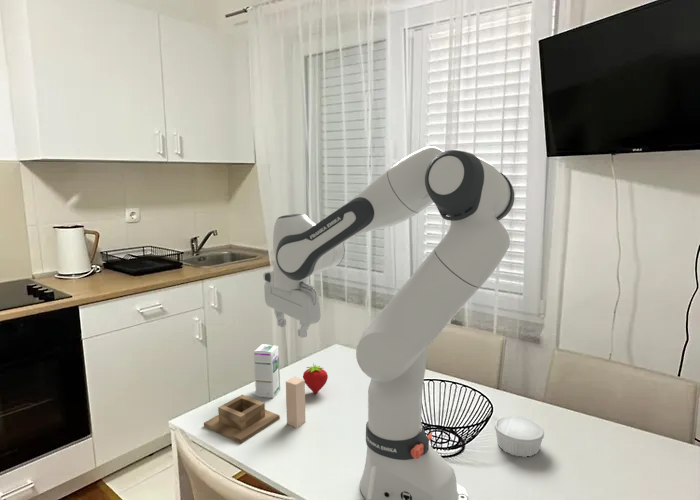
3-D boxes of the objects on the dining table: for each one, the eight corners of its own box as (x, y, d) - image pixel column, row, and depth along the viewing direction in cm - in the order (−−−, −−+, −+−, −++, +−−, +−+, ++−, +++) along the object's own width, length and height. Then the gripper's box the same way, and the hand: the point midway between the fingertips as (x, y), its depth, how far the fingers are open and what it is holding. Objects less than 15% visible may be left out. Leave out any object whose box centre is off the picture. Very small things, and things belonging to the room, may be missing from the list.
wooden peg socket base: (279, 418, 128) (279, 401, 127) (241, 443, 116) (240, 424, 116) (243, 404, 136) (242, 388, 135) (203, 426, 124) (202, 408, 123)
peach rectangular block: (305, 421, 126) (304, 379, 124) (296, 427, 124) (295, 384, 121) (295, 417, 128) (294, 376, 126) (286, 423, 125) (285, 381, 123)
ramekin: (486, 435, 120) (487, 416, 119) (529, 432, 121) (530, 413, 120) (505, 462, 109) (506, 441, 108) (551, 459, 110) (552, 438, 109)
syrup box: (273, 398, 139) (272, 352, 137) (255, 396, 140) (253, 350, 138) (280, 389, 145) (279, 344, 142) (262, 387, 146) (260, 343, 143)
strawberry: (326, 398, 139) (326, 366, 137) (301, 397, 140) (300, 365, 138) (329, 389, 145) (329, 358, 143) (305, 387, 146) (304, 357, 144)
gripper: (327, 285, 112) (326, 340, 114) (280, 269, 127) (280, 318, 129) (305, 289, 107) (305, 346, 110) (259, 272, 123) (260, 323, 125)
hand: (291, 331), depth 120 cm, fingers open, 8 cm apart
